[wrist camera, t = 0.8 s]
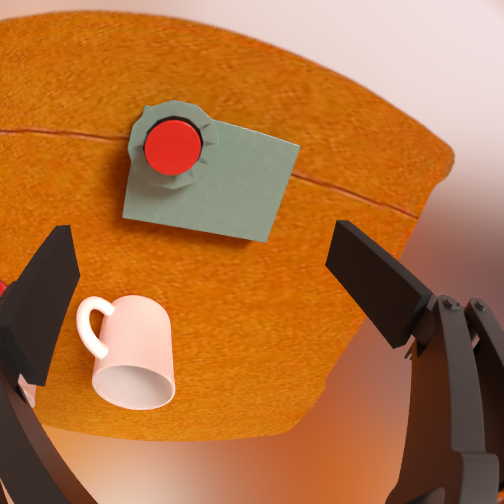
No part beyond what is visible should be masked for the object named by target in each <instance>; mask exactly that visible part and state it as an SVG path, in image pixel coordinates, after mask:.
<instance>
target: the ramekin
mask: <svg viewBox="0 0 504 504" xmlns="http://www.w3.org/2000/svg"><path fill="white" fill-rule="evenodd" d="M18 383H19V384H20V386H21V387H22V389H23V391H24V393H25V395H26V397H27V399H28V401H29V403H30V405H31V407H32V408H33V407H34V406H35V394H36V385H31V384H27V382H26V381H25V379H24V378H23V377H22V375H21V374H20V376H19V380H18Z"/></svg>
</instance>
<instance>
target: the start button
mask: <svg viewBox="0 0 504 504" xmlns="http://www.w3.org/2000/svg"><path fill="white" fill-rule="evenodd" d="M200 149H201V144H200V139H199V136H198V134H197V132H196V131H195V130H194V128H193V127H192V126H191V125H189V124H188V123H186V122H184V121H181V120H168V121H165V122H163V123H161V124H159V125H158V126H156V127H155V128H154V129H153V130H152V131H151V132H150V134H149V135H148V137H147V140H146V143H145V156H146V159H147V161H148V163H149V164H150V166H151V167H152V168H153V169H154V170H156V171H157V172H159V173H162V174H165V175H178V174H181V173H184V172H185V171H187V170H189V169H190V168H191V167H192V166H193V165H194V164H195V162H196V161H197V159H198V157H199V154H200Z"/></svg>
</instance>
